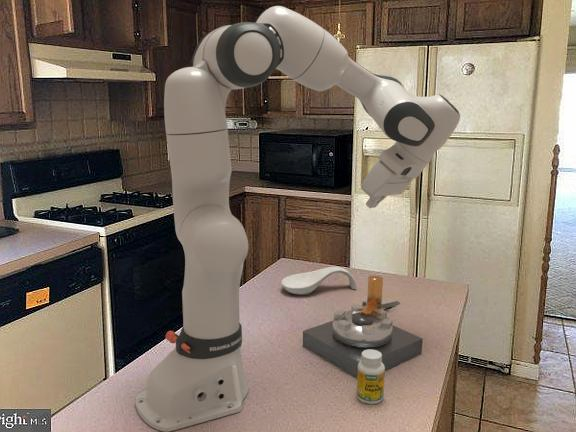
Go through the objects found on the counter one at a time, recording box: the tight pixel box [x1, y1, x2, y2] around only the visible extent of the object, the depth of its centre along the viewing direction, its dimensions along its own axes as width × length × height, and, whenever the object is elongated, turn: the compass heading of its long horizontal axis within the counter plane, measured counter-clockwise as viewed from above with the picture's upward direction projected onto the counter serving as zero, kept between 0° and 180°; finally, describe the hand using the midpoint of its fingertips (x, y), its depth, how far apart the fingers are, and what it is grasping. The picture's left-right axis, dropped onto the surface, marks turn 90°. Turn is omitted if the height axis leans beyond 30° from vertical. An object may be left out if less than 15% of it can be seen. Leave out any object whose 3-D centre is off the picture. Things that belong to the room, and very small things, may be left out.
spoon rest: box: [280, 266, 357, 296], centre depth 161 cm, size 24×12×7 cm, turn 103°
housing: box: [302, 320, 424, 379], centre depth 123 cm, size 20×20×4 cm
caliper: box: [361, 299, 401, 310], centre depth 144 cm, size 20×1×6 cm, turn 139°
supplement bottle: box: [356, 349, 386, 405], centre depth 103 cm, size 5×5×10 cm
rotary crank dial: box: [332, 275, 394, 347], centre depth 123 cm, size 19×14×11 cm
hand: (370, 206), depth 124 cm, fingers closed
